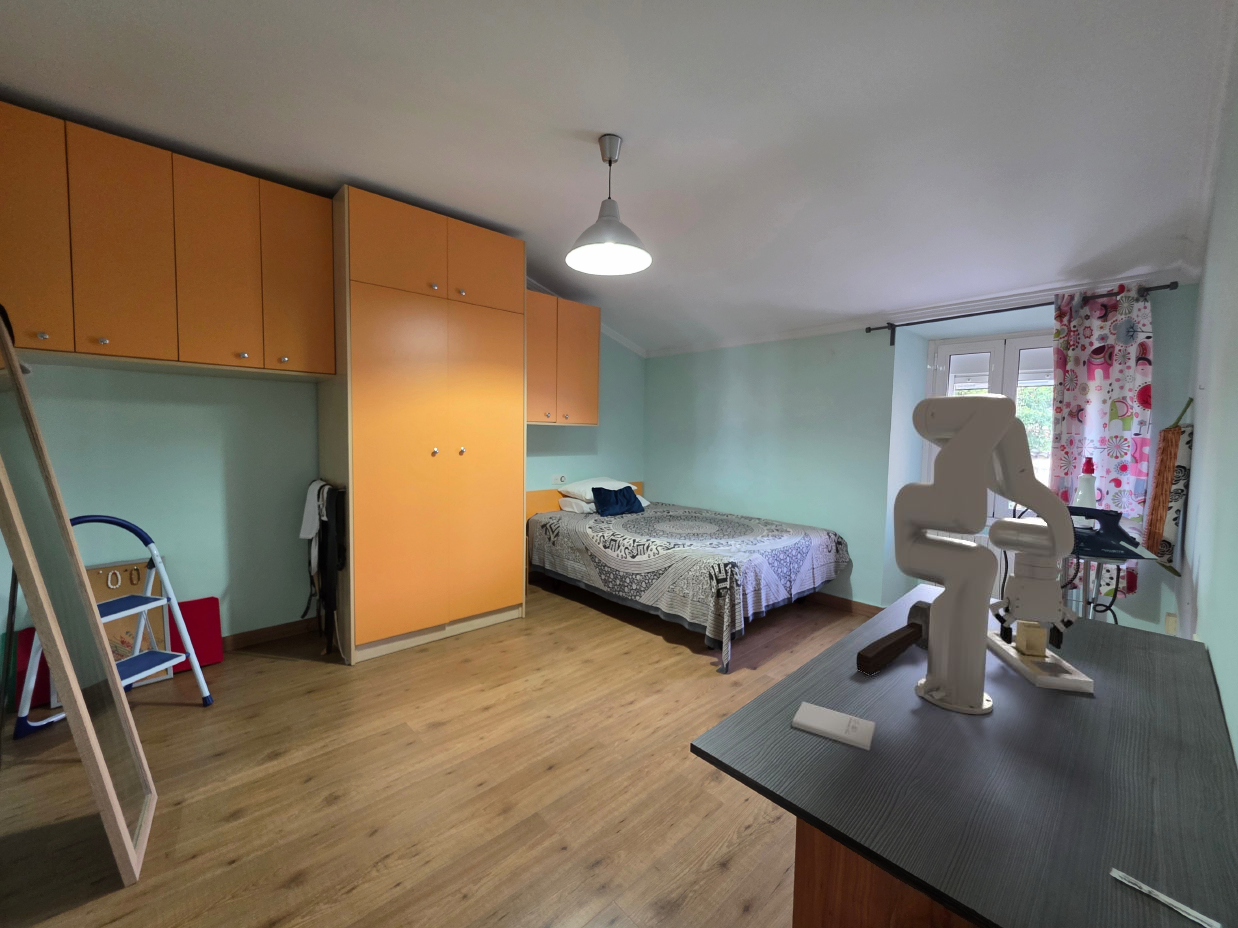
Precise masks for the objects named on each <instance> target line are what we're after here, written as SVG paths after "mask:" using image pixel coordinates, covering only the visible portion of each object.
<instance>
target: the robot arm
mask: <svg viewBox="0 0 1238 928" xmlns="http://www.w3.org/2000/svg"><path fill="white" fill-rule="evenodd" d="M1016 415H1017V406H1016V402H1015V401H1014V399H1012V398H1011V397H1009V396H1007V395H1003V394H996V393H978V394H977V393H975V394H961V395H960V394H959V395H949V396H948V395H943V396H931V397H926V398H924V399H922V400H920V401H919V402H918V403H917V404H916V405H915V407H914V409H913V411H912V417H911V419H912V424H913V427H914V429H915V431H916V433H917V434H918V435H919V436H920V437H922V438H923V439H924V440H926V441H928V442H930V443H932V444H933V445H935V446H936V447H937V448H940V450H939V451H938V452H937V455H936V456H935V458H934V463H933V482H924V481H922V482H921V481H920V482H918V481H916V482H909V483H906V484H905V485H903V486H902V487H901V488H900V489H899V490H898V492H897V494H896V497H895V499H894V504H893V530H894V531H893V534H894V535H893V536H894V557H895V562H896V566H897V568H898V570H899V571H900V572H901V573H903V574H904V575H906V576H908V577H911V578H914V579H917V580H922V581H925V582H930V583H933V584H937V585H940V586H943V587H944V589H943V591H942V592H941V593H939V595H938V596H937V597H935V599H934V600H933V601H932V604H931V608H930V624H929V642H928V649H927V663H926V664H927V665H926V666H927V667H926V674H925V677H924V678H921V679H919V680H918V681H917V683H916V684H917V685H915V687H914V693H916V695H917V696H919V697H923V698H924V699H925V700H926V701H928V702H930V703H932V704H933V705H936V706H938V707H940V708H944V709H946V710H949V711H953V712H956V713H962V714H967V715H984V714H987V713H990V712H992V710H993V709H994V700H993V699H992V697H991V696H989V694H988V693H986V692H985V681H986V663H987V662H986V661H987V647H988V646H987V633H988V630H989V614H990V612H991V614H992V617H994V618H995V619H996V620H997V621H998V623H999V624H1000V629H999V631H1000V637H1001V639H1002V640H1003V641H1004V642H1005V643H1007V644H1012V632H1013V628H1012V627H1011V626H1012V625H1013V624H1015V622H1017V621H1025V622H1037V623H1048V624H1050V625H1052V626H1050V628H1049V634H1048V635H1049V639H1048V644H1049V645H1050V646H1051V647H1054V648H1055V649H1057V650H1061V648H1062V645H1063V642H1064V641H1063V639H1064V633H1066V632H1067V629H1069V628H1070V627H1071V626H1073V625H1074V621H1076V620H1077V619H1078V617H1079V613H1078V612H1076V611H1074V610H1072V609H1070V608H1069V607H1067V606H1065V605H1063V592H1062V588H1061V583H1060V579H1057V578H1058V575H1063V574H1064V569H1063V567H1059V566H1058V560H1061V559H1062V560H1063V559H1065V558H1067V557H1068V556H1069V555H1070V554H1072V552H1073V550H1074V546H1075V545H1074V544H1075V534H1074V526H1073V523H1072V517H1071V514H1070V513H1071V512H1070V511H1069V508H1068V506H1067V505H1066V503H1065V502H1064V501H1063V500H1062V499H1061V498H1060V497H1059V496H1058V495H1057V494H1056V493H1055V492H1054V491H1053V490H1052V489H1051V488H1049V487H1048V486H1047V485H1045V484H1044V483H1042V482H1041V481H1039V479H1038V478H1037V477H1036V474H1035V470H1034V464H1033V460H1032V455H1031V450H1030V444H1029V440H1028V435H1027V429H1026V426H1025V423H1024V422H1023V421H1022V419H1020V418H1019V416H1018V417H1017V416H1016ZM988 490H989V491H991V492H992V493H994V494H996V495H998V496H1000V497H1002V498H1003V499H1006V500H1008V501H1010V502H1013V503H1015V504H1017V505H1018V506H1019V505H1020V506H1021V507H1024V508H1026V509H1028V510H1029V511H1031V512H1033V513H1035V514H1036V515H1037V517H1036V516H1023V517H1021V518H1013V517H1002V518H998V519H997V520H995V521H994V522H993V523H992V524H991V525H990V527H989V528H988V539H989V541H990V543H991V545H993V546H994V547H995V548H997V549H999V550H1002V551H1005V552H1010V553H1014V556H1015V557H1014V568H1013V569H1014V570H1013V571H1014V572H1013V573H1009V575H1008V577H1007V580H1006V581H1007V582H1006V584H1005V588H1004V592H1003V599H1001V600H998V601H995V602H993V603H991V599H992V593H993V588H994V586H995V583H996V579H997V576H998V575H997V574H998V570H999V561H998V558H997V555H996V554H995V552H994V551H993V550H992V549H990V548H989V547H987V546H985V545H983V544H980V543H978V542H974V541H969V540H964V539H960V538H959V539H958V538H953V537H948V536H946V537H945V536H939V535H934V534H928V531H932V532H940V533H944V534H945V533H946V534H951V535H957V536H959V535H960V536H975V535H978V534H980V533H981V532H983V530H984V529H985V527H986V525H987V520H988ZM1001 609H1002V611H1003V613H1004V614H1001V613H1000V610H1001ZM1063 613H1064V614H1066V616H1065V617H1063ZM1062 617H1063V618H1062Z"/></svg>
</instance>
